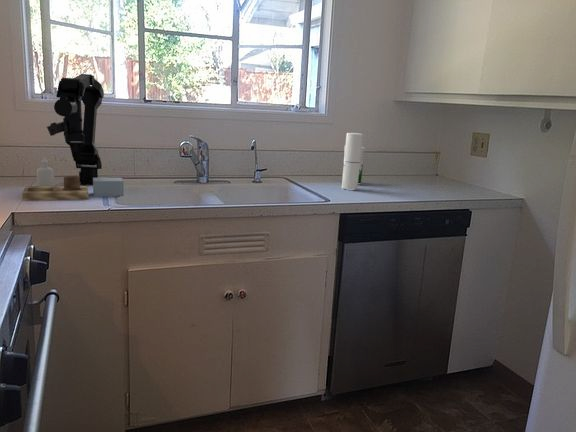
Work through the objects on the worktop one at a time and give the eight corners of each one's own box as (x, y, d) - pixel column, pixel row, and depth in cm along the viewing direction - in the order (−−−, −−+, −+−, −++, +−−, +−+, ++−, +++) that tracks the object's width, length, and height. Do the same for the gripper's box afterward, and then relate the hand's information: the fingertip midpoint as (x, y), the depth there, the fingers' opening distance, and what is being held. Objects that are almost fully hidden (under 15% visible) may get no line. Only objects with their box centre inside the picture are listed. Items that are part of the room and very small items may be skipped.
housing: (122, 192, 184) (121, 177, 183) (123, 196, 178) (123, 181, 177) (93, 192, 180) (92, 177, 179) (94, 196, 174) (93, 181, 173)
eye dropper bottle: (38, 188, 181) (36, 156, 178) (55, 188, 183) (53, 156, 180) (36, 191, 177) (34, 157, 174) (53, 191, 179) (52, 158, 176)
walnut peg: (80, 195, 175) (79, 175, 174) (80, 197, 172) (79, 177, 171) (64, 195, 173) (63, 175, 172) (64, 197, 170) (63, 177, 169)
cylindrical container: (350, 191, 218) (355, 134, 212) (338, 188, 223) (343, 132, 217) (360, 190, 222) (366, 134, 216) (348, 187, 227) (353, 132, 221)
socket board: (87, 192, 180) (87, 185, 179) (88, 199, 169) (87, 192, 169) (26, 193, 172) (25, 186, 172) (22, 200, 162) (22, 193, 161)
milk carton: (339, 181, 241) (343, 140, 237) (356, 182, 244) (360, 141, 239) (345, 184, 233) (349, 142, 228) (363, 185, 235) (367, 143, 231)
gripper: (47, 112, 178) (49, 155, 181) (47, 115, 161) (50, 163, 165) (80, 113, 182) (82, 155, 186) (84, 117, 166) (85, 163, 170)
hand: (74, 159), depth 177 cm, fingers open, 9 cm apart
